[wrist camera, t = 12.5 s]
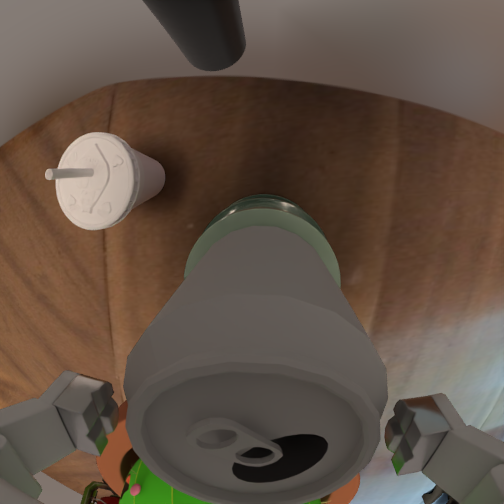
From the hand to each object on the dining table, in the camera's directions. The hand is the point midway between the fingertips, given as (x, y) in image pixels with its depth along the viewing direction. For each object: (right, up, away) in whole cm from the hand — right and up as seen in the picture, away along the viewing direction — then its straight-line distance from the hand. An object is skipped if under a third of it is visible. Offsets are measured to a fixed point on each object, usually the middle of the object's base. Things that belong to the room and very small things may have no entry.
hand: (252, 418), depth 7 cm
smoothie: (-10, +11, +19) cm, 24 cm away
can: (+1, +2, +10) cm, 11 cm away
